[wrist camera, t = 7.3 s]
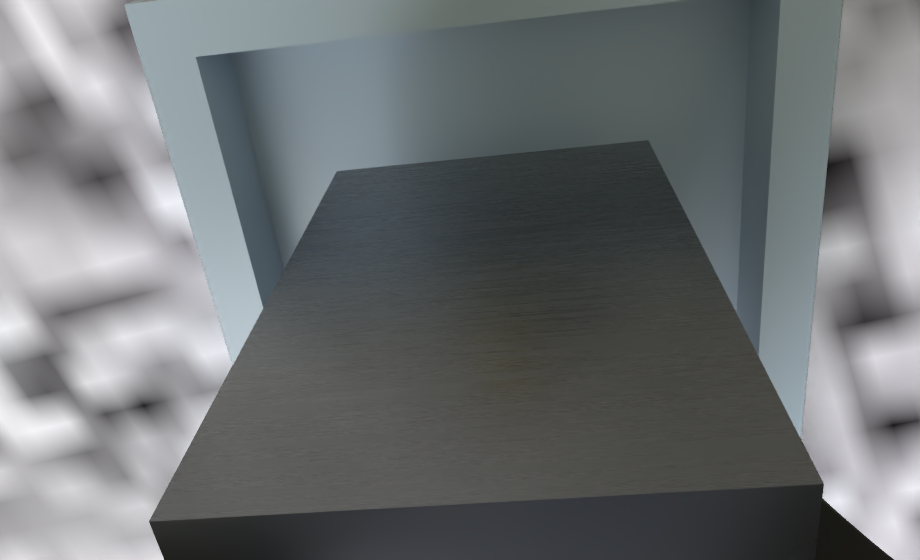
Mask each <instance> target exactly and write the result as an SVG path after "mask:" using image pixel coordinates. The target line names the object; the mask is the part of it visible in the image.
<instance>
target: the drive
mask: <svg viewBox="0 0 920 560" xmlns="http://www.w3.org/2000/svg"><path fill="white" fill-rule="evenodd" d="M823 486H824V484H823V482H822V480H821V478H820V476H819V474H818V472H817V470H816V468H815V466H814V464H813V462H812V460H811V458H810V456H809V454H808V452H807V450H806V448H805V446H804V444H803V442H802V440H801V438H800V437H799V435H798V433H797V431H796V429H795V427H794V425H793V423H792V421H791V419H790V417H789V415H788V413H787V411H786V409H785V407H784V405H783V403H782V401H781V399H780V397H779V395H778V393H777V391H776V389H775V388H774V386H773V384H772V382H771V380H770V378H769V376H768V374H767V372H766V370H765V368H764V366H763V364H762V362H761V360H760V358H759V356H758V354H757V352H756V350H755V348H754V346H753V344H752V342H751V340H750V339H749V337H748V335H747V333H746V331H745V329H744V327H743V325H742V323H741V321H740V319H739V317H738V315H737V313H736V311H735V309H734V307H733V305H732V303H731V301H730V299H729V297H728V295H727V293H726V291H725V290H724V288H723V286H722V284H721V282H720V280H719V278H718V276H717V274H716V272H715V270H714V268H713V266H712V264H711V262H710V260H709V258H708V256H707V254H706V252H705V250H704V248H703V246H702V244H701V242H700V241H699V239H698V237H697V235H696V233H695V231H694V229H693V227H692V225H691V223H690V221H689V219H688V217H687V215H686V213H685V211H684V209H683V207H682V205H681V203H680V201H679V199H678V197H677V195H676V193H675V192H674V190H673V188H672V186H671V184H670V182H669V180H668V178H667V176H666V174H665V172H664V170H663V168H662V166H661V164H660V162H659V160H658V158H657V156H656V154H655V152H654V150H653V148H652V146H651V144H650V143H649V141H648V140H646V141H635V142H625V143H615V144H605V145H595V146H585V147H575V148H565V149H555V150H544V151H534V152H524V153H514V154H504V155H494V156H484V157H474V158H463V159H453V160H443V161H433V162H423V163H413V164H403V165H393V166H383V167H372V168H362V169H352V170H342V171H337V172H336V173H335V175H334V177H333V179H332V181H331V183H330V185H329V187H328V188H327V190H326V192H325V194H324V196H323V198H322V200H321V201H320V203H319V205H318V207H317V209H316V211H315V213H314V215H313V216H312V218H311V220H310V222H309V224H308V226H307V228H306V229H305V231H304V233H303V235H302V237H301V239H300V241H299V243H298V244H297V246H296V248H295V250H294V252H293V254H292V256H291V257H290V259H289V261H288V263H287V265H286V267H285V269H284V271H283V272H282V274H281V276H280V278H279V280H278V282H277V284H276V285H275V287H274V289H273V291H272V293H271V295H270V297H269V299H268V300H267V302H266V304H265V306H264V308H263V310H262V312H261V313H260V315H259V317H258V319H257V321H256V323H255V325H254V327H253V328H252V330H251V332H250V334H249V336H248V338H247V340H246V341H245V343H244V345H243V347H242V349H241V351H240V353H239V355H238V356H237V358H236V360H235V362H234V364H233V366H232V368H231V370H230V371H229V373H228V375H227V377H226V379H225V381H224V383H223V384H222V386H221V388H220V390H219V392H218V394H217V396H216V398H215V399H214V401H213V403H212V405H211V407H210V409H209V411H208V412H207V414H206V416H205V418H204V420H203V422H202V424H201V426H200V427H199V429H198V431H197V433H196V435H195V437H194V439H193V440H192V442H191V444H190V446H189V448H188V450H187V452H186V454H185V455H184V457H183V459H182V461H181V463H180V465H179V467H178V468H177V470H176V472H175V474H174V476H173V478H172V480H171V482H170V483H169V485H168V487H167V489H166V491H165V493H164V495H163V496H162V498H161V500H160V502H159V504H158V506H157V508H156V510H155V511H154V513H153V515H152V517H151V519H150V521H149V523H150V525H151V528H152V530H153V533H154V535H155V538H156V540H157V542H158V545H159V547H160V550H161V552H162V555H163V557H164V560H815V554H816V546H817V537H818V529H819V520H820V511H821V503H822V494H823Z"/></svg>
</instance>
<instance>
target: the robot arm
mask: <svg viewBox="0 0 920 560" xmlns="http://www.w3.org/2000/svg"><path fill="white" fill-rule="evenodd" d="M815 560H894V559H892V558H891V557H890V556H889V555H887V554H886V553H885V552H884V551H882V550H881V549H880V548H879V547H878V546H876V545H875V544H874V543H873V542H872V541H870V540H869V539H868V538H867V537H866V536H864V535H863V534H862V533H861V532H860V531H859V530H857V529H856V528H855V527H854V526H853V525H852V524H851V523H849V522H848V521H847V520H846V519H845V518H844V517H842V516H841V515H840V514H839V513H838V512H837V511H836V510H835V509H833V508H832V507H831V506H830V505H829V504H828V503H827V502H826V501H825V500H824V499H822V503H821V511H820V520H819V529H818V537H817V546H816V554H815Z"/></svg>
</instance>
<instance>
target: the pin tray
mask: <svg viewBox="0 0 920 560" xmlns="http://www.w3.org/2000/svg"><path fill="white" fill-rule="evenodd" d="M124 6H125V9H126V13H127V16H128V19H129V23H130V26H131V29H132V33H133V36H134V39H135V43H136V46H137V49H138V53H139V56H140V59H141V63H142V66H143V69H144V73H145V76H146V79H147V83H148V86H149V89H150V93H151V96H152V99H153V103H154V106H155V109H156V113H157V116H158V119H159V123H160V126H161V129H162V133H163V136H164V139H165V143H166V146H167V149H168V153H169V156H170V159H171V162H172V166H173V169H174V172H175V176H176V179H177V182H178V186H179V189H180V192H181V196H182V199H183V202H184V206H185V209H186V212H187V216H188V219H189V222H190V226H191V229H192V232H193V236H194V239H195V242H196V246H197V249H198V252H199V256H200V259H201V262H202V266H203V269H204V272H205V276H206V279H207V282H208V286H209V289H210V292H211V296H212V299H213V302H214V306H215V309H216V312H217V316H218V319H219V322H220V326H221V329H222V332H223V336H224V339H225V342H226V345H227V349H228V352H229V355H230V359H231V362H232V365H233V364H234V362H235V360H236V358H237V356H238V355H239V353H240V351H241V349H242V347H243V345H244V343H245V341H246V340H247V338H248V336H249V334H250V332H251V330H252V328H253V327H254V325H255V323H256V321H257V319H258V317H259V315H260V313H261V312H262V310H263V308H264V306H265V304H266V302H267V300H268V299H269V297H270V295H271V293H272V291H273V289H274V287H275V285H276V284H277V282H278V280H279V278H280V276H281V274H282V272H283V271H284V269H285V267H286V265H287V263H288V261H289V259H290V257H291V256H292V254H293V252H294V250H295V248H296V246H297V244H298V243H299V241H300V239H301V237H302V235H303V233H304V231H305V229H306V228H307V226H308V224H309V222H310V220H311V218H312V216H313V215H314V213H315V211H316V209H317V207H318V205H319V203H320V201H321V200H322V198H323V196H324V194H325V192H326V190H327V188H328V187H329V185H330V183H331V181H332V179H333V177H334V175H335V173H336V172H337V171H342V170H352V169H362V168H372V167H383V166H393V165H403V164H413V163H423V162H433V161H443V160H453V159H463V158H474V157H484V156H494V155H504V154H514V153H524V152H534V151H544V150H555V149H565V148H575V147H585V146H595V145H605V144H615V143H625V142H635V141H646V140H648V141H649V143H650V144H651V146H652V148H653V150H654V152H655V154H656V156H657V158H658V160H659V162H660V164H661V166H662V168H663V170H664V172H665V174H666V176H667V178H668V180H669V182H670V184H671V186H672V188H673V190H674V192H675V193H676V195H677V197H678V199H679V201H680V203H681V205H682V207H683V209H684V211H685V213H686V215H687V217H688V219H689V221H690V223H691V225H692V227H693V229H694V231H695V233H696V235H697V237H698V239H699V241H700V242H701V244H702V246H703V248H704V250H705V252H706V254H707V256H708V258H709V260H710V262H711V264H712V266H713V268H714V270H715V272H716V274H717V276H718V278H719V280H720V282H721V284H722V286H723V288H724V290H725V291H726V293H727V295H728V297H729V299H730V301H731V303H732V305H733V307H734V309H735V311H736V313H737V315H738V317H739V319H740V321H741V323H742V325H743V327H744V329H745V331H746V333H747V335H748V337H749V339H750V340H751V342H752V344H753V346H754V348H755V350H756V352H757V354H758V356H759V358H760V360H761V362H762V364H763V366H764V368H765V370H766V372H767V374H768V376H769V378H770V380H771V382H772V384H773V386H774V388H775V389H776V391H777V393H778V395H779V397H780V399H781V401H782V403H783V405H784V407H785V409H786V411H787V413H788V415H789V417H790V419H791V421H792V423H793V425H794V427H795V429H796V431H797V433H798V435H799V437H800V438H801V432H802V422H803V411H804V401H805V390H806V380H807V370H808V359H809V349H810V339H811V328H812V318H813V307H814V297H815V287H816V276H817V266H818V255H819V245H820V235H821V224H822V214H823V203H824V193H825V183H826V172H827V162H828V152H829V141H830V131H831V120H832V110H833V100H834V89H835V79H836V68H837V58H838V48H839V37H840V27H841V16H842V6H843V0H135V1H132V2H130V3H127V4H124Z"/></svg>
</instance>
